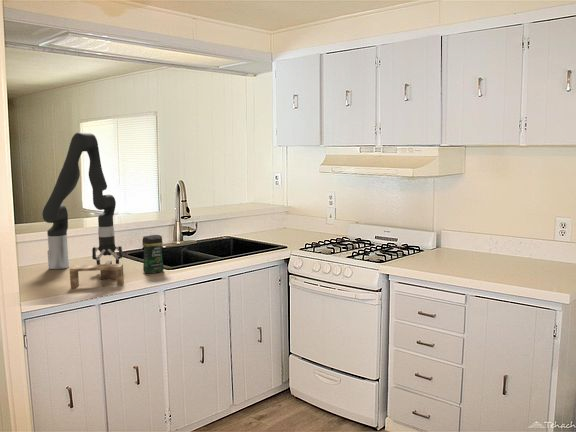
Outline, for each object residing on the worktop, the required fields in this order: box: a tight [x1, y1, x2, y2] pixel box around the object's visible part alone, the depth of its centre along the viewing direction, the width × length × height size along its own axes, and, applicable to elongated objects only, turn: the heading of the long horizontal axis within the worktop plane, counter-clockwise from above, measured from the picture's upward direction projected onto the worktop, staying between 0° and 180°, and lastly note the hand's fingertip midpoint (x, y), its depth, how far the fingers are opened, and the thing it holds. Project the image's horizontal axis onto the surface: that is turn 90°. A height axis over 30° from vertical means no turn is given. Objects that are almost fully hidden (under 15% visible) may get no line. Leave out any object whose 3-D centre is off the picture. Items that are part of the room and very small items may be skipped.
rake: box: [99, 260, 117, 281], centre depth 269 cm, size 8×20×5 cm, turn 10°
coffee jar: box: [141, 234, 164, 274], centre depth 273 cm, size 10×8×19 cm
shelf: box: [69, 263, 125, 289], centre depth 249 cm, size 22×7×9 cm, turn 99°
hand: (108, 267), depth 274 cm, fingers open, 8 cm apart
